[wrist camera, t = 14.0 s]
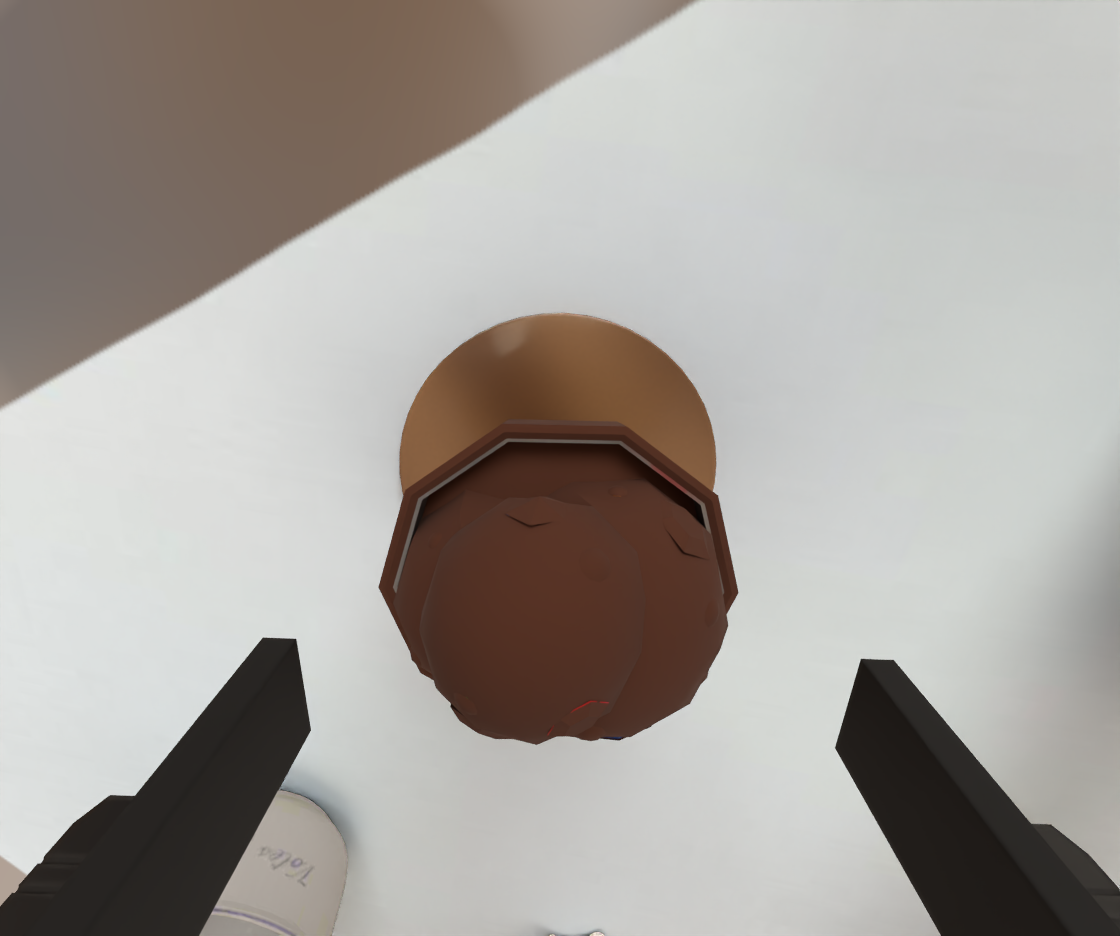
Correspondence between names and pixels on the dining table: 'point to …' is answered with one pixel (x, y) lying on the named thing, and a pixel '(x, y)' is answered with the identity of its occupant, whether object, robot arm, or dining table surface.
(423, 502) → the ice cream bowl
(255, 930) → the teacup
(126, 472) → the dining table surface
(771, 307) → the dining table surface
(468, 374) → the brown round coaster
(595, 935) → the koala figurine
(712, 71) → the dining table surface
